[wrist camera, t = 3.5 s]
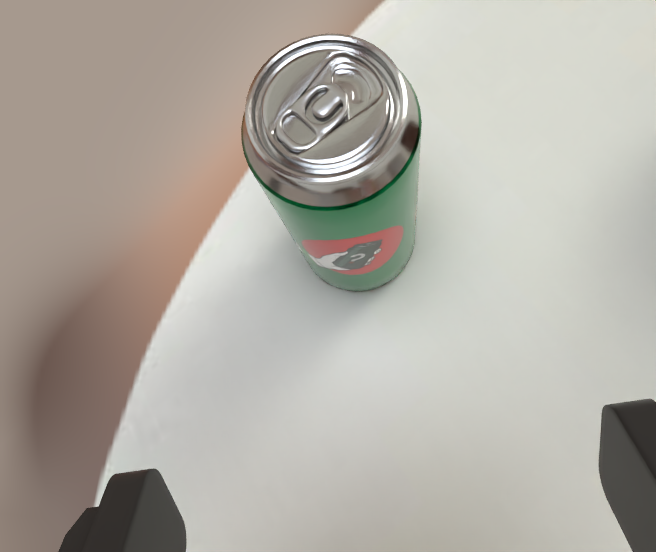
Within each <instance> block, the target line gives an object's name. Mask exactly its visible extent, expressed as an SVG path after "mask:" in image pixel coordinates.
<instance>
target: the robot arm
mask: <svg viewBox="0 0 656 552" xmlns="http://www.w3.org/2000/svg"><path fill="white" fill-rule="evenodd" d="M599 473H600V478H601V483H602V486H603V490H604V493H605V495H606V498H607V500H608V502H609V505H610V507H611V509H612V511H613V513H614V515H615V517H616V519H617V521H618V523H619V525H620V527H621V529H622V531H623V533H624V535H625V537H626V539H627V541H628V543H629V545H630V547H631V549H632V551H633V552H656V402H655V401H654V400H652V399H644V400H637V401H630V402H623V403H616V404H609V405H605V406H604V407H603V410H602V419H601V435H600V451H599ZM59 552H186V530H185V525H184V521H183V519H182V516H181V514H180V512H179V510H178V508H177V506H176V504H175V502H174V500H173V498H172V496H171V494H170V492H169V490H168V488H167V486H166V484H165V482H164V480H163V478H162V476H161V474H160V472H159V471H158V470H157V469H147V470H140V471H133V472H126V473H119V474H115V475H113V476H112V477H111V478H110V480H109V482H108V484H107V486H106V489H105V492H104V494H103V497H102V499H101V502H100V505H99V507H92V508H87V509H86V510H85V511H84V513H83V514H82V515H81V516H80V518H79V519H78V520H77V521H76V523H75V524H74V525H73V526H72V528H71V529H70V530H69V531H68V533H67V534H66V535H65V537H64V540H63V542H62V545H61V547H60V549H59Z"/></svg>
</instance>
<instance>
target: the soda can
mask: <svg viewBox="0 0 656 552" xmlns="http://www.w3.org/2000/svg"><path fill="white" fill-rule="evenodd" d="M421 123H422V122H421V112H420V106H419V103H418V99H417V96H416V94H415V92H414V90H413V88H412V86H411V84H410V83H409V81H408V80H407V78H406V77H405V76H404V74H403V73H402V72H401V71H400V70H399V69H398V68H397V67H396V65H395V64H394V63H393V61H392V60H391V59H390V58H389V57H388V56H387V55H386V54H385V53H384V52H383V51H382V50H380V49H379V48H378V47H376V46H375V45H373V44H371V43H369V42H367V41H365V40H363V39H360V38H357V37H353V36H349V35H343V34H321V35H314V36H311V37H306V38H303V39H300V40H298V41H296V42H293V43H291V44H289V45H287V46H286V47H284V48H282V49H281V50H279V51H278V52H277V53H276V54H274V55H273V56H272V57H271V58H270V59H269V60H268V61H267V62H266V63H265V64H264V65H263V66H262V67H261V69H260V70H259V72H258V73H257V75H256V76H255V78H254V80H253V82H252V84H251V86H250V89H249V92H248V95H247V99H246V105H245V112H244V116H243V121H242V129H241V130H242V131H241V132H242V145H243V151H244V155H245V158H246V160H247V163H248V166H249V167H250V169H251V171H252V172H253V174H254V176H255V178H256V179H257V181H258V182H259V184H260V186H261V187H262V189H263V191H264V192H265V194H266V195H267V197H268V199H269V200H270V202H271V204H272V205H273V207H274V208H275V210H276V212H277V213H278V215H279V217H280V218H281V220H282V221H283V223H284V225H285V226H286V228H287V230H288V231H289V233H290V234H291V236H292V238H293V239H294V241H295V243H296V244H297V246H298V247H299V249H300V251H301V252H302V254H303V256H304V257H305V259H306V260H307V262H308V264H309V265H310V267H311V268H312V270H313V271H314V272H315V273H316V274H317V275H318V276H319V277H320V278H321V279H322V280H324V281H325V282H327V283H328V284H330V285H332V286H335V287H337V288H340V289H344V290H349V291H365V290H370V289H374V288H377V287H379V286H382V285H384V284H386V283H387V282H389V281H391V280H392V279H393V278H394V277H396V276H397V275H398V274H399V273H400V272H401V271H402V269H403V268H404V267H405V265H406V264H407V262H408V261H409V259H410V256H411V254H412V251H413V247H414V242H415V226H416V209H417V192H418V175H419V158H420V140H421Z"/></svg>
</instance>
